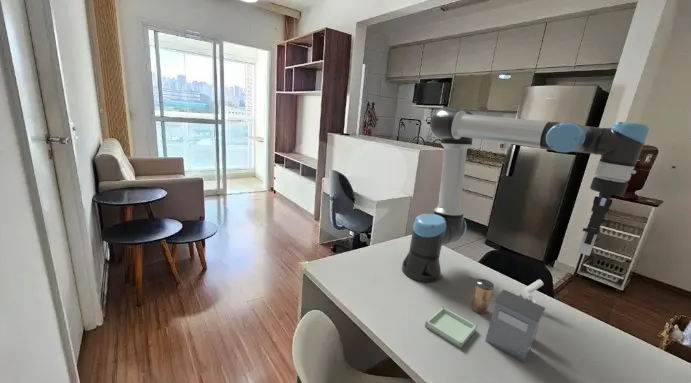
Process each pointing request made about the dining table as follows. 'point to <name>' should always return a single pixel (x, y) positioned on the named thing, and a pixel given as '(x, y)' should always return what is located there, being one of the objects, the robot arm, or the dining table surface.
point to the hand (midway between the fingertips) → (585, 247)
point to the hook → (530, 290)
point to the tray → (451, 327)
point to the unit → (514, 324)
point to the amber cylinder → (481, 296)
